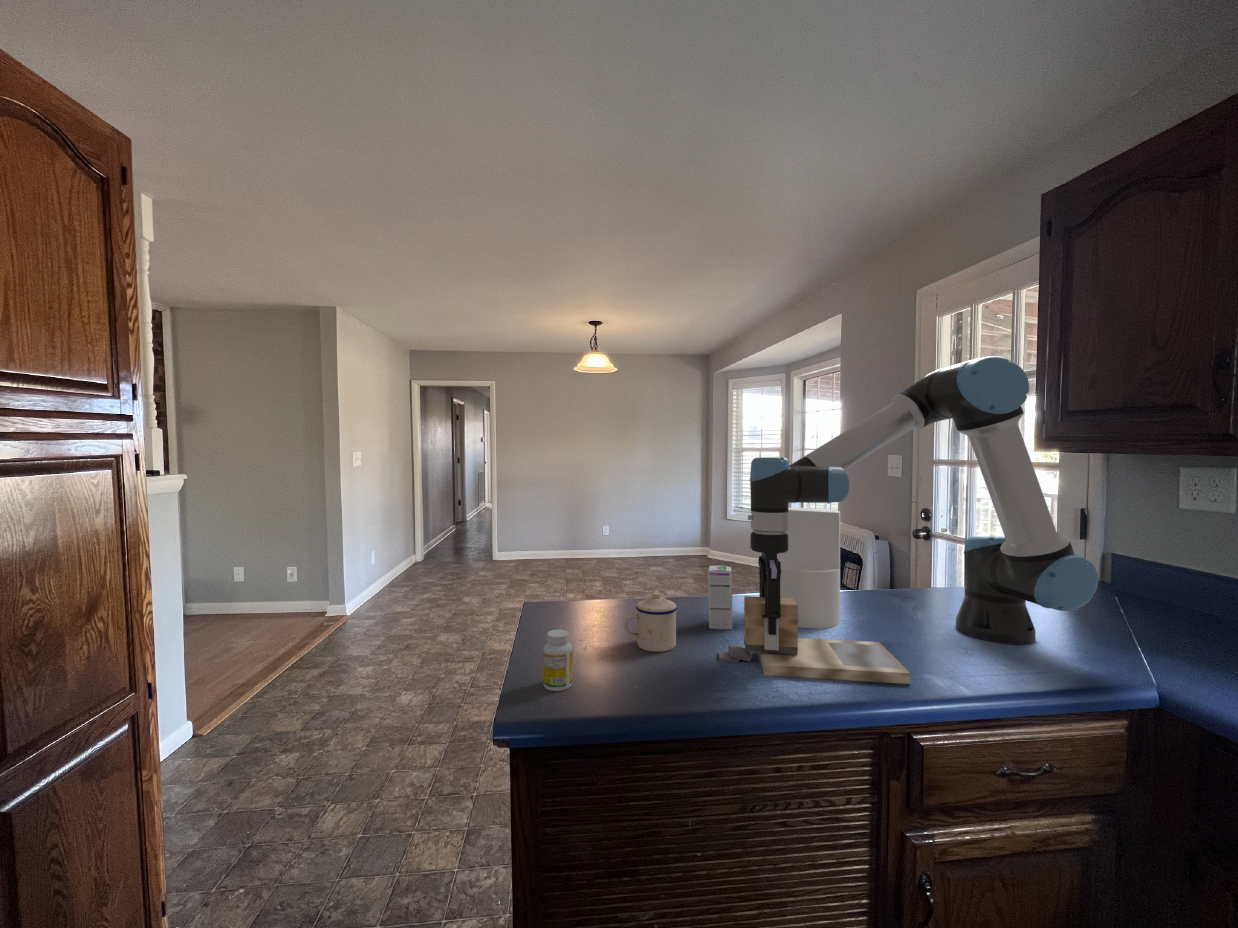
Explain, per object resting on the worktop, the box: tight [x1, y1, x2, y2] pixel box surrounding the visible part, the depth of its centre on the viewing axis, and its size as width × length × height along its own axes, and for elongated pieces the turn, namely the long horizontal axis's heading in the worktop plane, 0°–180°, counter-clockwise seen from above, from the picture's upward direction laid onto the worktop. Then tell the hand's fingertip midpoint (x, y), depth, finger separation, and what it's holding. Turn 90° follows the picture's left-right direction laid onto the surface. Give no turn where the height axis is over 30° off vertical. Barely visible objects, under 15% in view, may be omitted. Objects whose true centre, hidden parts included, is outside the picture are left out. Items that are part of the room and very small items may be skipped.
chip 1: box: [718, 650, 740, 663], centre depth 105 cm, size 4×4×1 cm
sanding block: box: [743, 595, 799, 655], centre depth 104 cm, size 10×5×10 cm, turn 81°
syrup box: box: [707, 565, 733, 631], centre depth 125 cm, size 6×6×14 cm
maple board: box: [756, 637, 911, 685], centre depth 102 cm, size 26×16×2 cm, turn 81°
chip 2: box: [727, 643, 753, 663], centre depth 104 cm, size 4×4×1 cm
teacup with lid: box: [623, 591, 678, 653], centre depth 111 cm, size 12×9×12 cm
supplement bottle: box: [542, 629, 573, 692], centre depth 92 cm, size 5×5×10 cm
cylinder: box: [777, 507, 841, 630], centre depth 131 cm, size 17×17×28 cm
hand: (769, 643), depth 104 cm, fingers closed on sanding block, 5 cm apart
